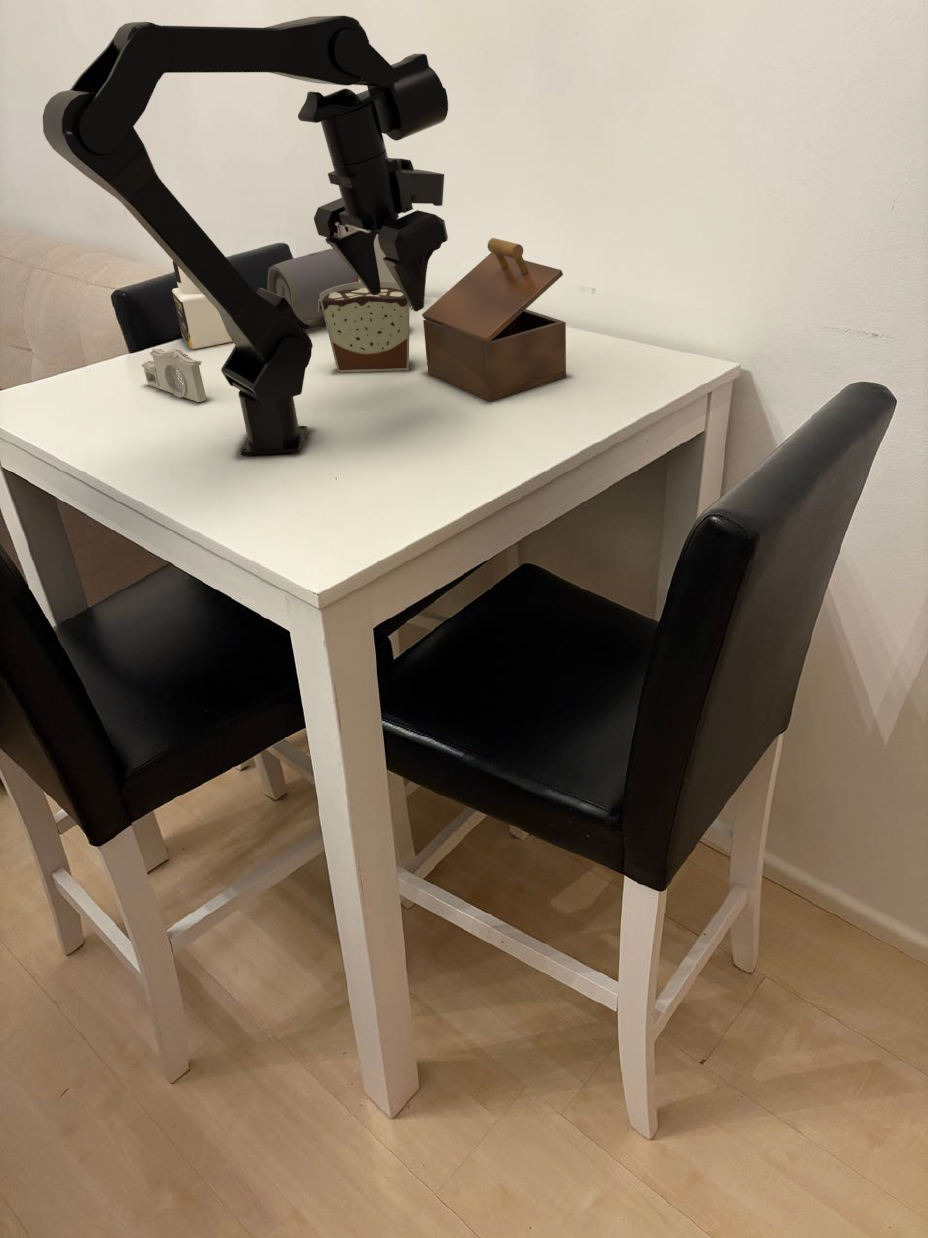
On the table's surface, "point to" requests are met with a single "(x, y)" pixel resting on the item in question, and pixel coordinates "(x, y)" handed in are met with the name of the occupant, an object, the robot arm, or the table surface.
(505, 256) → the tea box lid
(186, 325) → the medicine bottle
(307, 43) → the robot arm
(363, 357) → the food container
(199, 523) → the table surface
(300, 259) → the bluetooth speaker
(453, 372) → the tea box
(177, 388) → the grey toy camera
